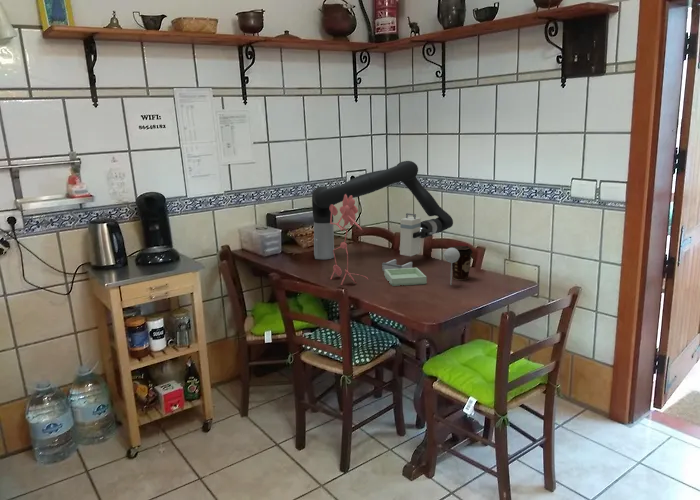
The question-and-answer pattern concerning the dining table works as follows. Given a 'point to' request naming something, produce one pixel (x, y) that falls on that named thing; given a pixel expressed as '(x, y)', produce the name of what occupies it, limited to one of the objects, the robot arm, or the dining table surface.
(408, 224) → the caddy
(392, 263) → the bay
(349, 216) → the figurine
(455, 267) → the coffee cup
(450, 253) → the lollipop
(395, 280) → the tray
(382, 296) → the dining table surface
